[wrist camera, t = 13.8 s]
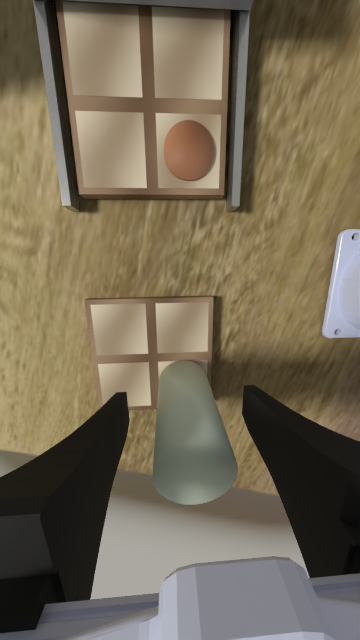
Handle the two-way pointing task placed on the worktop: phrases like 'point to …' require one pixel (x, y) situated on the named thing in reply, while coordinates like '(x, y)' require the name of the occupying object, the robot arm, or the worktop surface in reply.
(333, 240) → the worktop surface
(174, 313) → the board
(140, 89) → the board
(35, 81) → the worktop surface
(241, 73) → the rails
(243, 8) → the cover
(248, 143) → the worktop surface
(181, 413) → the pin
